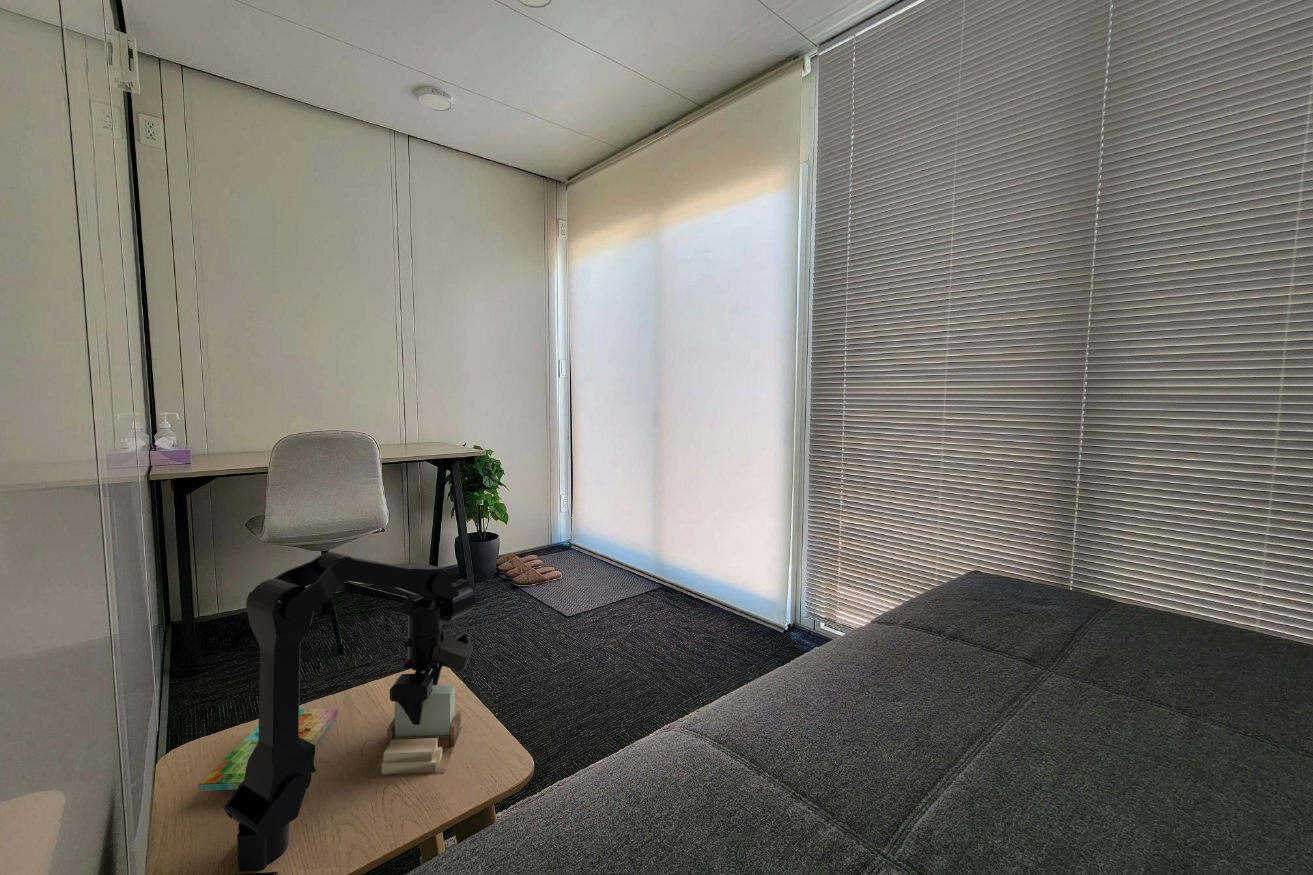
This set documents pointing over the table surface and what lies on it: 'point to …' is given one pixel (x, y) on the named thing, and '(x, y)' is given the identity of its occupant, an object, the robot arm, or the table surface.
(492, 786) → the table surface
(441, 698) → the board
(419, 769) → the offcut stack
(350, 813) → the table surface
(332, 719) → the puzzle game
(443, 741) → the rack
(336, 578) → the robot arm
